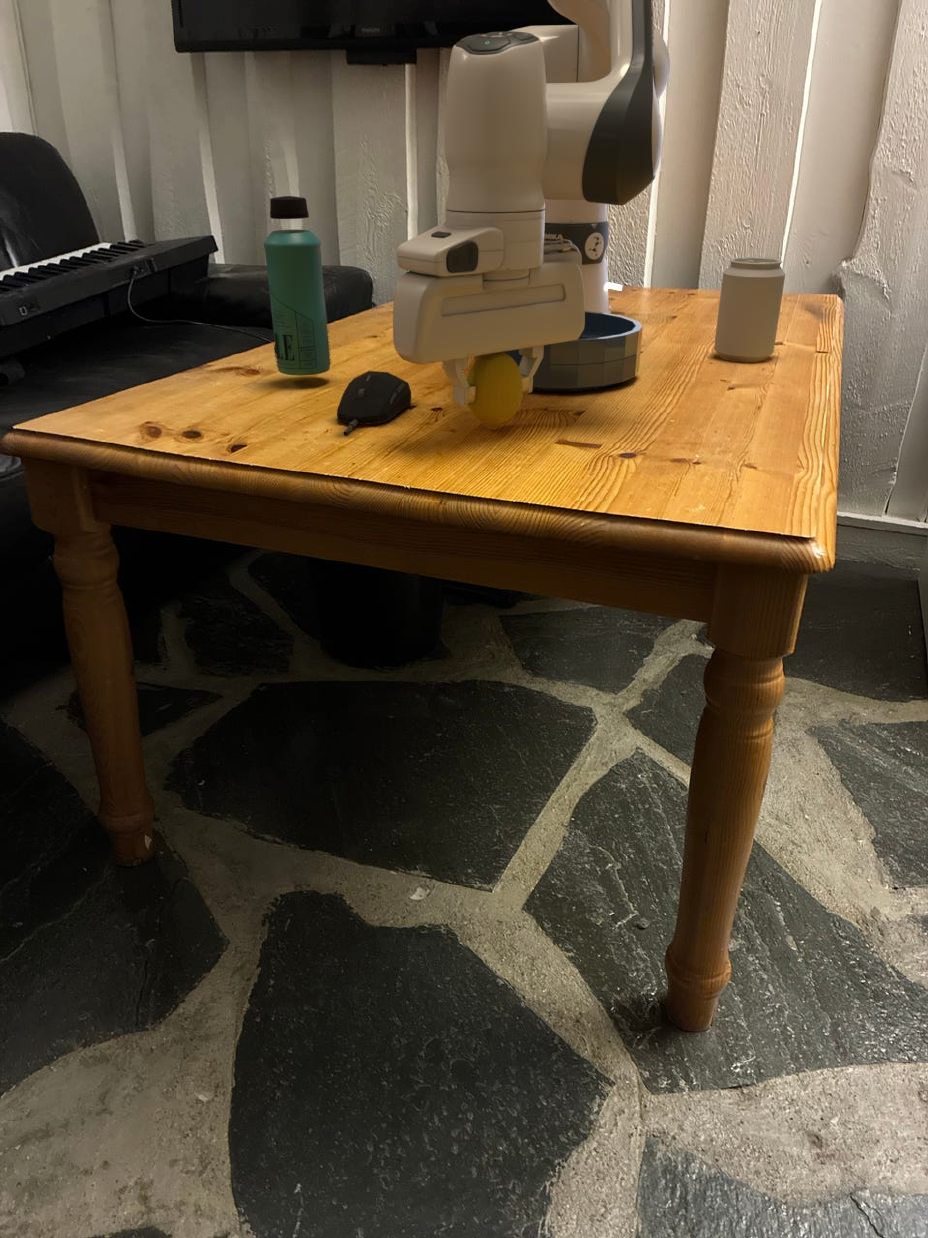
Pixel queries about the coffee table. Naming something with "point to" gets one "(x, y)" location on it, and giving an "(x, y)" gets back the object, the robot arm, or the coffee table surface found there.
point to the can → (749, 309)
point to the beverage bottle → (296, 293)
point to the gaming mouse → (373, 399)
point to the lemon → (495, 388)
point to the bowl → (590, 356)
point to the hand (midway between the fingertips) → (493, 398)
